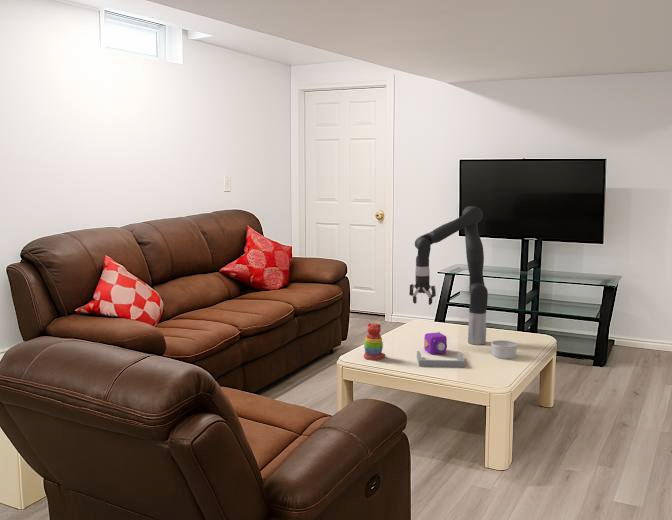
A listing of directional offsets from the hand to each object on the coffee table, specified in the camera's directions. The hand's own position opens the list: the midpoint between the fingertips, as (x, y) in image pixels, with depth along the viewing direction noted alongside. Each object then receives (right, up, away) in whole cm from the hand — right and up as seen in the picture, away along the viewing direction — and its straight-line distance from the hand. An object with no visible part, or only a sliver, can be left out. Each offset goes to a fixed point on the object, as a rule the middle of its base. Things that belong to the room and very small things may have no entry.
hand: (422, 303), depth 379 cm
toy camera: (+6, -25, -13) cm, 29 cm away
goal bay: (+5, -27, -30) cm, 40 cm away
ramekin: (+39, -26, -19) cm, 51 cm away
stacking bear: (-28, -26, -24) cm, 45 cm away
